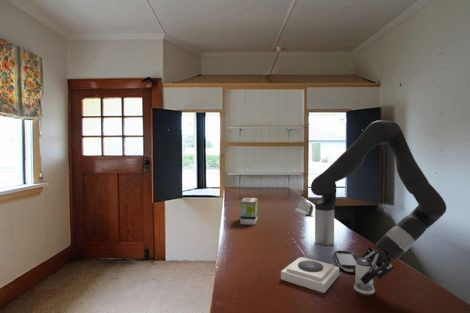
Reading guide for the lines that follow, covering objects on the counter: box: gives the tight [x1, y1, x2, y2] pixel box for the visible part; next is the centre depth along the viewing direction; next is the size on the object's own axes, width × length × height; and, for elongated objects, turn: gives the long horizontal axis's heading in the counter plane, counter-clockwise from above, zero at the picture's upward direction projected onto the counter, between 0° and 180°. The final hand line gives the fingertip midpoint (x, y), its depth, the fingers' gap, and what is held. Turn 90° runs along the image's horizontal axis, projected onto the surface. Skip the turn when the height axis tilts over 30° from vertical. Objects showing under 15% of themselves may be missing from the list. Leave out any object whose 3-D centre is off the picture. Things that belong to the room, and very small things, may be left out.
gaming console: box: [333, 249, 359, 274], centre depth 114 cm, size 19×9×3 cm, turn 168°
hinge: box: [294, 200, 315, 217], centre depth 202 cm, size 17×5×10 cm, turn 14°
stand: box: [280, 256, 340, 294], centre depth 101 cm, size 16×16×4 cm
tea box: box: [240, 197, 258, 226], centre depth 180 cm, size 15×10×15 cm
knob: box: [353, 257, 376, 296], centre depth 92 cm, size 6×6×10 cm
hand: (358, 277), depth 92 cm, fingers open, 5 cm apart
